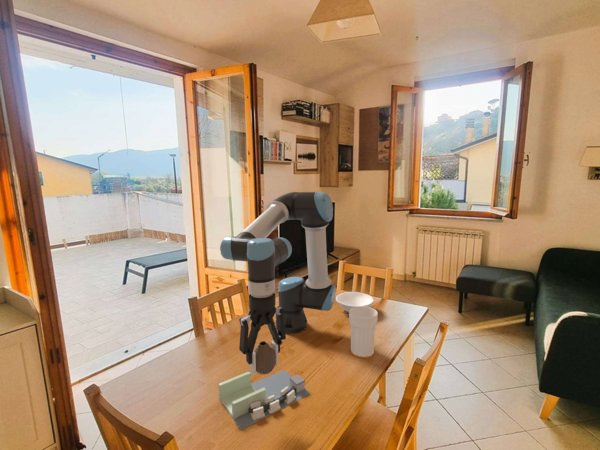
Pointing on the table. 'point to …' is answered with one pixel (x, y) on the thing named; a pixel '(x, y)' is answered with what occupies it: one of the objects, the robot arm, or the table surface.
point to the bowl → (353, 300)
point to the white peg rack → (274, 406)
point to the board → (272, 387)
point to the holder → (240, 395)
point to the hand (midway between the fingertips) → (264, 367)
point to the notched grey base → (281, 400)
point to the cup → (362, 330)
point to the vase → (264, 358)
